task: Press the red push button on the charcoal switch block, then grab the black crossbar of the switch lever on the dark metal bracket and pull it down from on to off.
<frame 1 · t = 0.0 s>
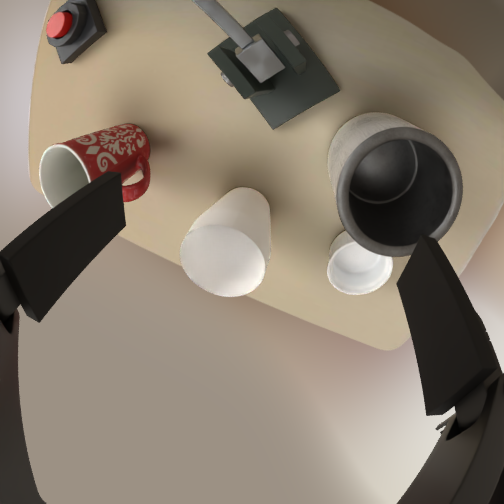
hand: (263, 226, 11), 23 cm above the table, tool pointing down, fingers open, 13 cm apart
lever bracket: (276, 67, 26), on the table
mug: (139, 151, 35), on the table
planter: (376, 161, 30), on the table
ramekin: (356, 250, 37), on the table
cup: (245, 209, 37), on the table
button: (59, 24, 20), point 4 cm above the table, slide at 0.1 cm
switch lever: (207, 3, 12), point 14 cm above the table, hinge at 25.0°
switch block: (79, 25, 23), on the table
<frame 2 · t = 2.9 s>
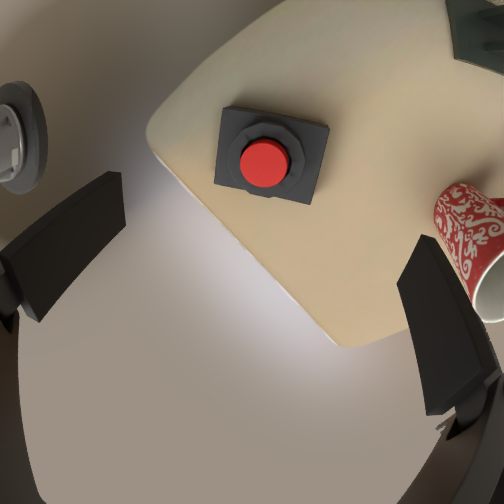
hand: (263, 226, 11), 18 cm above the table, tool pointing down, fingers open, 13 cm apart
lever bracket: (491, 37, 13), on the table
mug: (468, 204, 25), on the table
button: (264, 162, 24), point 4 cm above the table, slide at 0.1 cm
switch block: (271, 151, 27), on the table
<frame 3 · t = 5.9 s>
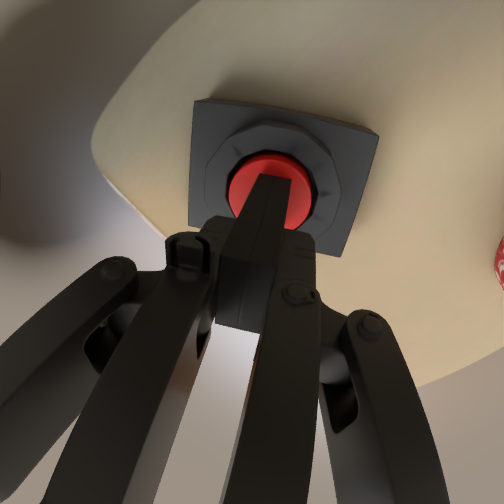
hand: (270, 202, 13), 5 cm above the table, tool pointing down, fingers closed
button: (271, 192, 14), point 4 cm above the table, slide at -0.7 cm, touching gripper
switch block: (278, 170, 17), on the table
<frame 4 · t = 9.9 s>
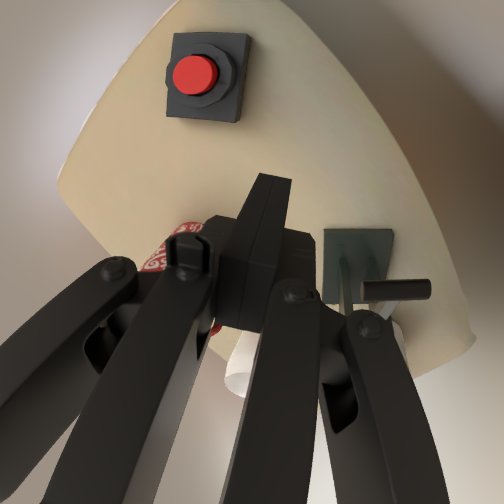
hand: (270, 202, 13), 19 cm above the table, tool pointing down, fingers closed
lever bracket: (355, 266, 37), on the table
mug: (205, 251, 40), on the table
cup: (265, 326, 47), on the table
button: (195, 74, 22), point 4 cm above the table, slide at 0.1 cm
switch lever: (377, 318, 22), point 14 cm above the table, hinge at 25.0°
switch block: (210, 75, 26), on the table
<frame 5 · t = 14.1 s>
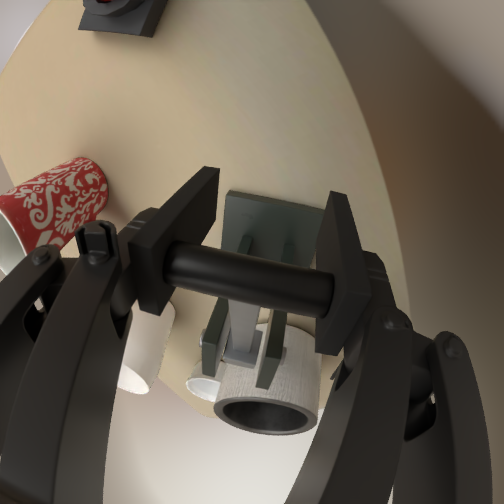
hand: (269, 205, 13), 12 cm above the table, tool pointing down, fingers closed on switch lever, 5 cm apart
lever bracket: (266, 252, 29), on the table
mug: (93, 196, 29), on the table
planter: (277, 347, 38), on the table
ramekin: (218, 370, 44), on the table
cup: (154, 304, 37), on the table
switch lever: (244, 329, 14), point 14 cm above the table, hinge at 25.0°, touching gripper
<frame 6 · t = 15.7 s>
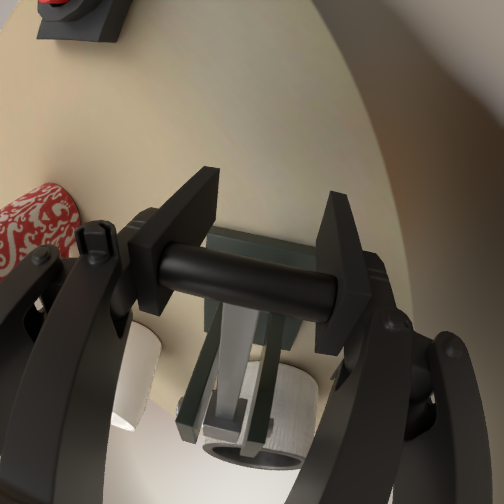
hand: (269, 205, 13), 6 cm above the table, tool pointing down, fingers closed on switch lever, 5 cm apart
lever bracket: (257, 293, 25), on the table
mug: (67, 224, 25), on the table
planter: (270, 381, 34), on the table
cup: (140, 335, 34), on the table
switch lever: (230, 381, 12), point 12 cm above the table, hinge at 0.4°, touching gripper
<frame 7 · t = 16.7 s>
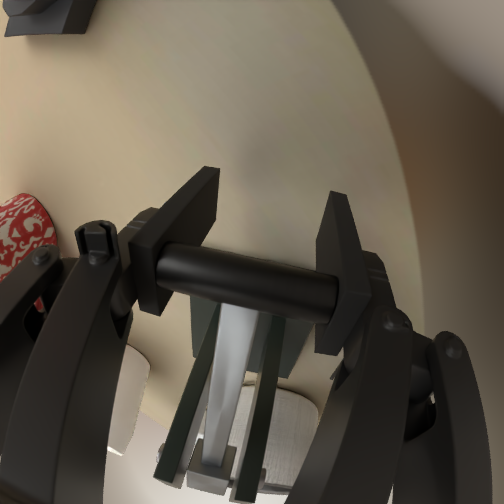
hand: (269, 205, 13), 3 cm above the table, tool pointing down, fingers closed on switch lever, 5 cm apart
lever bracket: (250, 319, 22), on the table
mug: (44, 238, 22), on the table
planter: (267, 403, 31), on the table
cup: (127, 354, 30), on the table
switch lever: (220, 416, 10), point 10 cm above the table, hinge at -16.7°, touching gripper
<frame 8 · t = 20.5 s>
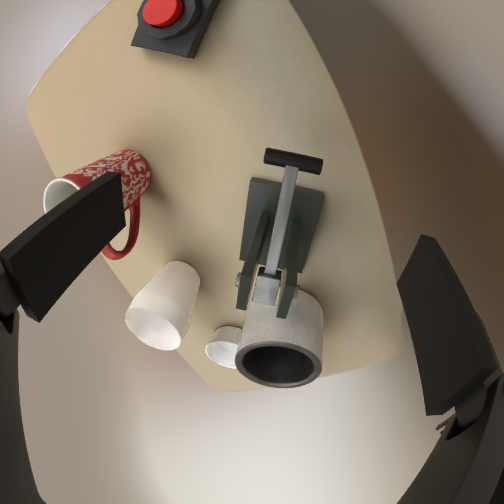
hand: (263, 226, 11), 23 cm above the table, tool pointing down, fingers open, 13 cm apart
lever bracket: (279, 225, 37), on the table
mug: (136, 182, 37), on the table
planter: (285, 311, 46), on the table
ramekin: (233, 337, 52), on the table
cup: (182, 275, 45), on the table
button: (162, 9, 19), point 4 cm above the table, slide at 0.1 cm
switch lever: (279, 230, 25), point 10 cm above the table, hinge at -16.9°
switch block: (179, 16, 23), on the table
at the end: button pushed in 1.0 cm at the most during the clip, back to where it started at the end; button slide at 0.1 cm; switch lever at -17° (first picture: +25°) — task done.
